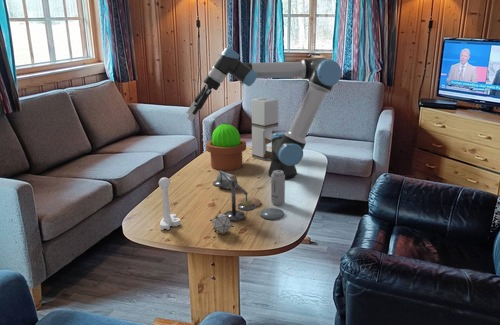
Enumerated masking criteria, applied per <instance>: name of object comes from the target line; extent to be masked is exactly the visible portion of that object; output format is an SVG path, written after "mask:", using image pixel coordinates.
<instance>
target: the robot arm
mask: <svg viewBox="0 0 500 325" xmlns="http://www.w3.org/2000/svg"><path fill="white" fill-rule="evenodd" d="M228 74H230V75H231V76H233V77H234V78H235V79H236V80H238V81H239V82H241V83H242V84H243V85H246V86H247V87H250V86H252V85H253V84H254V83H255V82H256V80H257V79H275V78H276V79H279V78H282V79H283V78H300V79H302V80H308V86H309V87H308V89H307V91H306V92H305V95H304V98H303V100H302V102H301V104H300V106H299V108H298V111H297V113H296V115H295V117H294V120H293V121H292V124H291V126H290V127H289V130H288V131H279V132H274V133H273V132H272V138H271V140H272V142H271V152H272V159H271V161H270V165H269V168H268V173H267V174H268V177H270V178H271V175H272V173H273V171H275V170H281V171H283V172H284V175H285V180H290V179H294V178H296V177H298V176H297V174H298V172H297V168H296V165H298V164H299V163H300V162H301V161H302V159H303V157H304V148H305V146H306V144H307V141H306V137H307V135H308V132H309V131H310V129H311V126H312V124H313V122H314V120H315V118H316V116H317V114H318V111H319V110H320V108H321V105H322V102H323V101H324V98H325V97H326V95H327V93H330V92H331V91H332V89H333V87H334V86H335V85H336V84H337V83H338V82H339V81H340V80H341V77H342V68H341V65H340V64H339V63H338V62H337V61H336V60H333V59H331V58H326V57H316V58H308V59H302V60H301V61H281V62H277V61H274V62H243V61H241V60H240V54H239V53H237V52H236V51H235V50H234V49H232V48H231V47H229V46H228V47H225V48H224V50H223V51H222V52H221V54H220V55H219V56H218V58H217V60H216V61H215V62H214V65H212V67H210V68H209V72H208V74H207V75H206V76H205V78H203V83H204V86H202V88H201V90H200V91H199V93H198V94H197V95H196V97H195V98H194V100H193V102H192V103H191V105H190V107H189V108H188V109H187V111H186V114H187V117H186V119H187V120H189V121H191V122H193V121H194V120H195V118H196V116H197V114H198V113H199V111H201V110H202V109H203V107H204V105H205V103H206V101H207V100H208V98H209V97H210V95H211V94H212V90H215V91H218V89H219V87H220V86H221V83H223V82H224V81H225V79H226V78H227V76H228Z"/></svg>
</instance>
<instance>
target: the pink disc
mask: <svg viewBox="0 0 500 325" xmlns="http://www.w3.org/2000/svg"><path fill="white" fill-rule="evenodd" d="M247 198H248V199H250V200H252V203H253V204H255V208H257V207H259V206H261V200H260V199H259V198H256V197H248V196H247ZM242 199H246V197H244V198H240V199H238V202H237V206H238V205H239V204H240V203H241V200H242Z"/></svg>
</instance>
